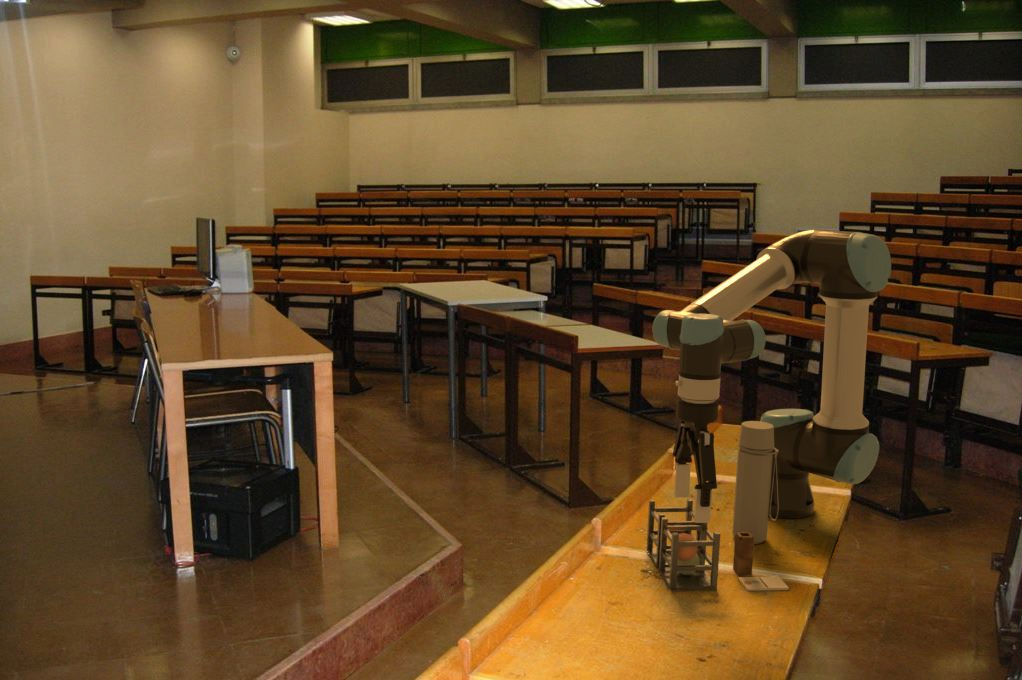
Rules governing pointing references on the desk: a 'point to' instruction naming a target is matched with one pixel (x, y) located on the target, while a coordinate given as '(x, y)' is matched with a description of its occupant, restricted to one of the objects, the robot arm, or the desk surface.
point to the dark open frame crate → (695, 580)
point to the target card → (763, 583)
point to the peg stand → (743, 553)
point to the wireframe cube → (651, 533)
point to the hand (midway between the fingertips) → (691, 509)
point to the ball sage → (692, 561)
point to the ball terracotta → (686, 548)
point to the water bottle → (754, 479)
